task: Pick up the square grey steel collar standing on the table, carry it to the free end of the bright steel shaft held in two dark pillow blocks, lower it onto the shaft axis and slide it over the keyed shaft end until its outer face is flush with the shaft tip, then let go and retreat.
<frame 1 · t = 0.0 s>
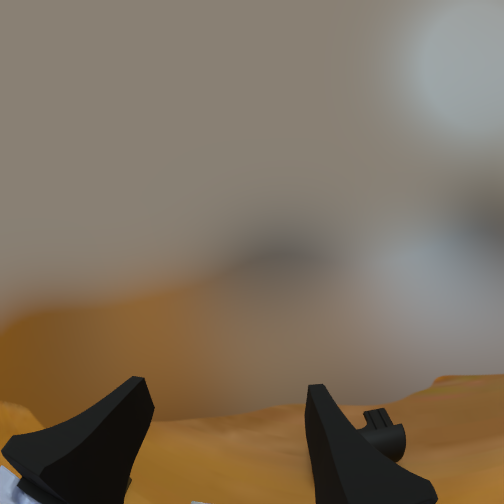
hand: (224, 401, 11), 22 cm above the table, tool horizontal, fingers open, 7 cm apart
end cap: (349, 463, 24), on the table
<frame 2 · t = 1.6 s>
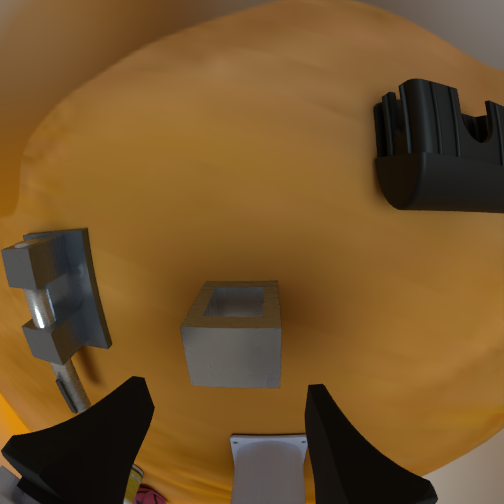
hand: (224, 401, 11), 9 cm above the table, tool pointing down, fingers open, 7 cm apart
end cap: (427, 156, 16), on the table
collar: (242, 306, 20), on the table
supplement bottle: (128, 465, 28), on the table
shaft stand: (65, 288, 20), on the table
pencil case: (114, 480, 32), on the table
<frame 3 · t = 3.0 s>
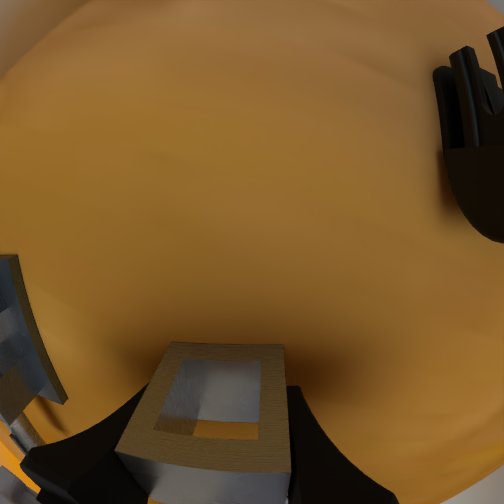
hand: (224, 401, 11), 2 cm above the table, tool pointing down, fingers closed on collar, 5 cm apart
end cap: (498, 154, 9), on the table
collar: (228, 378, 12), on the table, touching gripper
shaft stand: (8, 327, 13), on the table
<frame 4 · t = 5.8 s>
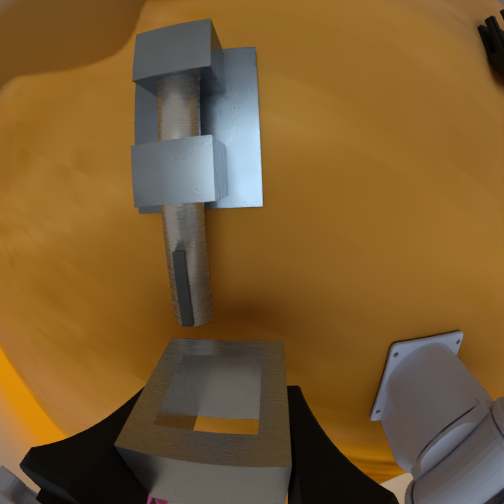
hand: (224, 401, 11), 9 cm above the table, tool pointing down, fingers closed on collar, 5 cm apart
collar: (229, 374, 12), point 7 cm above the table, touching gripper
shaft stand: (196, 127, 16), on the table
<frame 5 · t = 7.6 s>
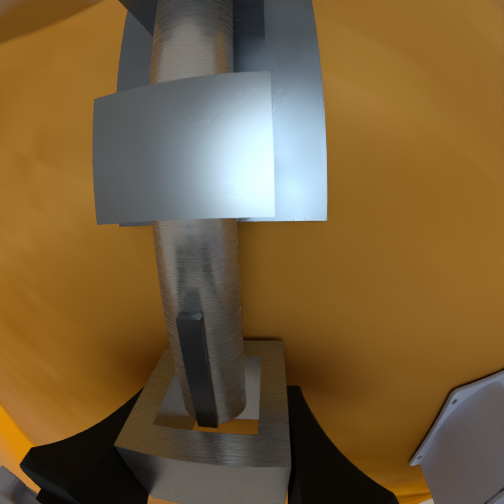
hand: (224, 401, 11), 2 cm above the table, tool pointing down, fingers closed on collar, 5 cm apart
collar: (228, 374, 12), on the table, touching gripper
shaft stand: (215, 89, 9), on the table
when the fingers open (2 cm above the table, at t = 8.9 s): collar stays where it is, on the table.
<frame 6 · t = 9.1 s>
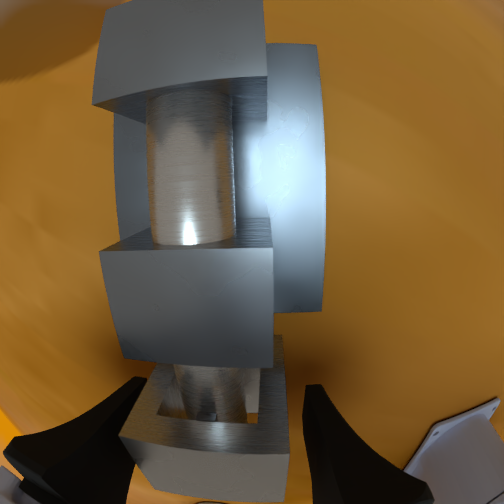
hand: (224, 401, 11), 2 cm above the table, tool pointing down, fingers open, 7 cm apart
collar: (229, 368, 13), on the table
shaft stand: (216, 177, 10), on the table
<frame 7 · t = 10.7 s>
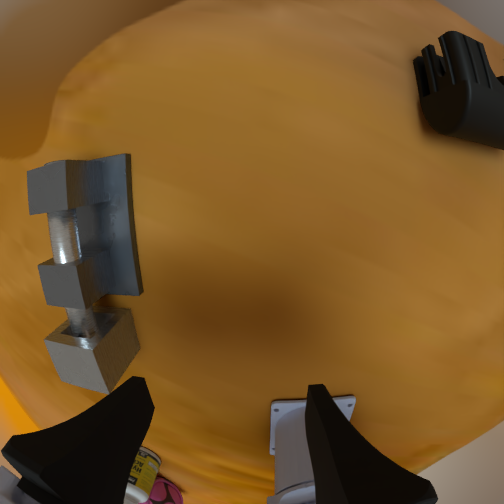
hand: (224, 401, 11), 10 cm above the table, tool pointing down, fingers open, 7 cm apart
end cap: (458, 107, 15), on the table
collar: (111, 326, 22), on the table
supplement bottle: (143, 453, 27), on the table, touching pencil case
shaft stand: (92, 227, 19), on the table
pencil case: (125, 474, 31), on the table, touching supplement bottle
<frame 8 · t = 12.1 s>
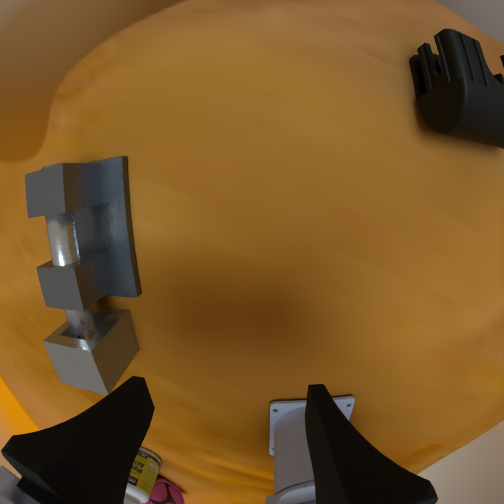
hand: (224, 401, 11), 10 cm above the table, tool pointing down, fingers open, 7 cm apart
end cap: (455, 105, 15), on the table
collar: (111, 328, 22), on the table
supplement bottle: (143, 454, 27), on the table
shaft stand: (90, 230, 19), on the table
pencil case: (127, 475, 31), on the table
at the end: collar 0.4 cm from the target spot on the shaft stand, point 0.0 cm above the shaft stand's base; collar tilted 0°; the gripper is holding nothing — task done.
